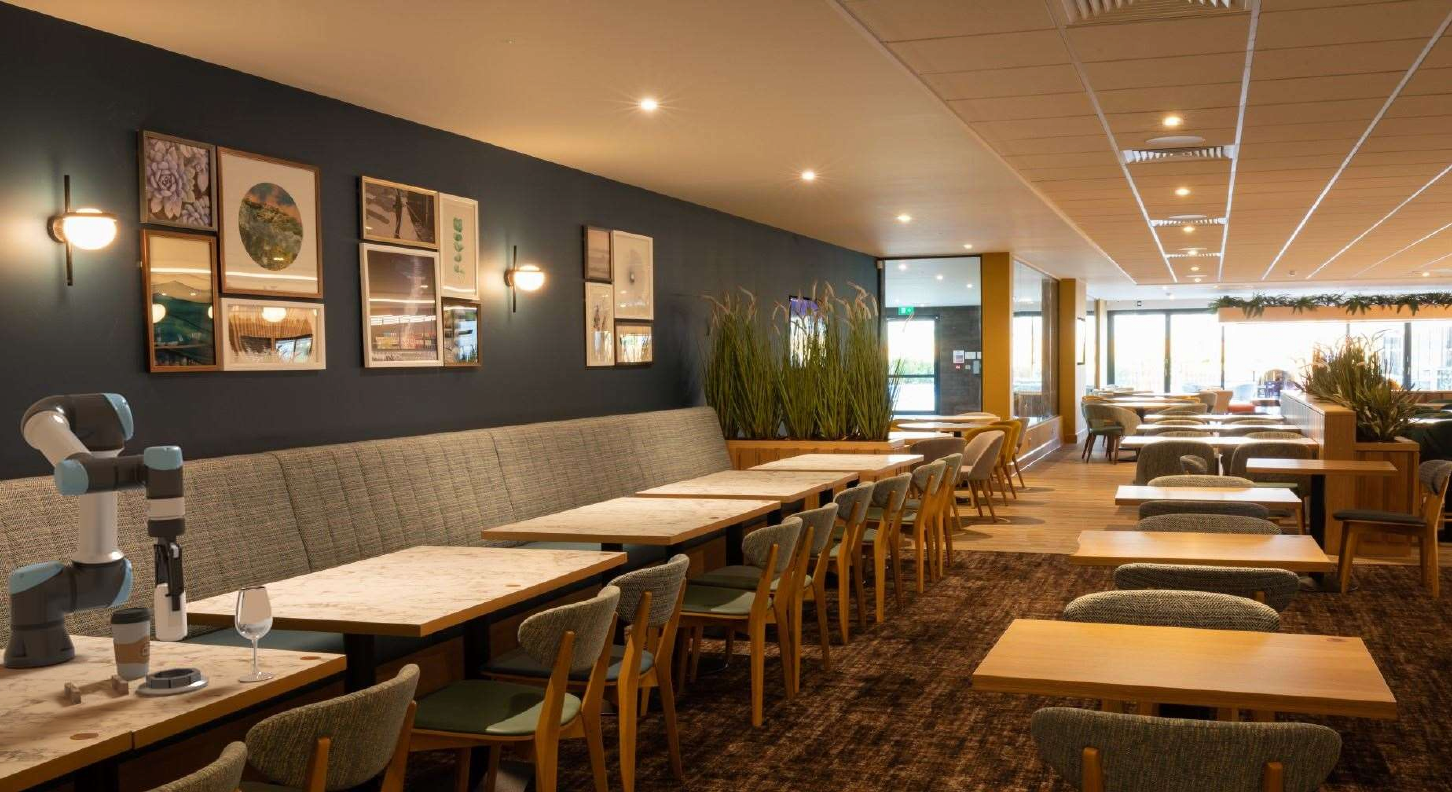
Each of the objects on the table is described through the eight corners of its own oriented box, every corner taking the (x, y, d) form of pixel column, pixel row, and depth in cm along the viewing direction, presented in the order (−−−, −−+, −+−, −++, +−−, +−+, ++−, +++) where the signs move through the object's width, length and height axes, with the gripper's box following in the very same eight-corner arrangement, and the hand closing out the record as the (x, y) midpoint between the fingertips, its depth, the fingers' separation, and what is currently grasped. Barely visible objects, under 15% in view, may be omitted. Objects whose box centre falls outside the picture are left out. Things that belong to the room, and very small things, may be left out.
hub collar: (131, 687, 268) (130, 673, 268) (198, 675, 277) (197, 662, 277) (147, 699, 257) (146, 685, 257) (217, 686, 266) (216, 673, 266)
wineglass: (266, 671, 278) (262, 583, 278) (281, 676, 273) (277, 587, 272) (231, 678, 273) (227, 588, 273) (246, 684, 267) (242, 592, 267)
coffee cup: (137, 681, 273) (134, 614, 273) (104, 680, 275) (101, 614, 275) (161, 672, 282) (158, 606, 281) (129, 671, 283) (126, 606, 283)
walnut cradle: (64, 695, 263) (64, 683, 263) (117, 685, 270) (117, 674, 270) (74, 704, 256) (74, 692, 256) (128, 694, 262) (128, 682, 262)
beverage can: (155, 643, 262) (153, 587, 262) (156, 638, 268) (153, 583, 268) (187, 640, 265) (184, 584, 265) (187, 635, 271) (184, 580, 270)
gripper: (136, 516, 271) (141, 620, 272) (159, 522, 256) (164, 632, 257) (172, 513, 276) (177, 615, 276) (197, 518, 261) (202, 627, 261)
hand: (171, 623), depth 266 cm, fingers closed on beverage can, 6 cm apart
